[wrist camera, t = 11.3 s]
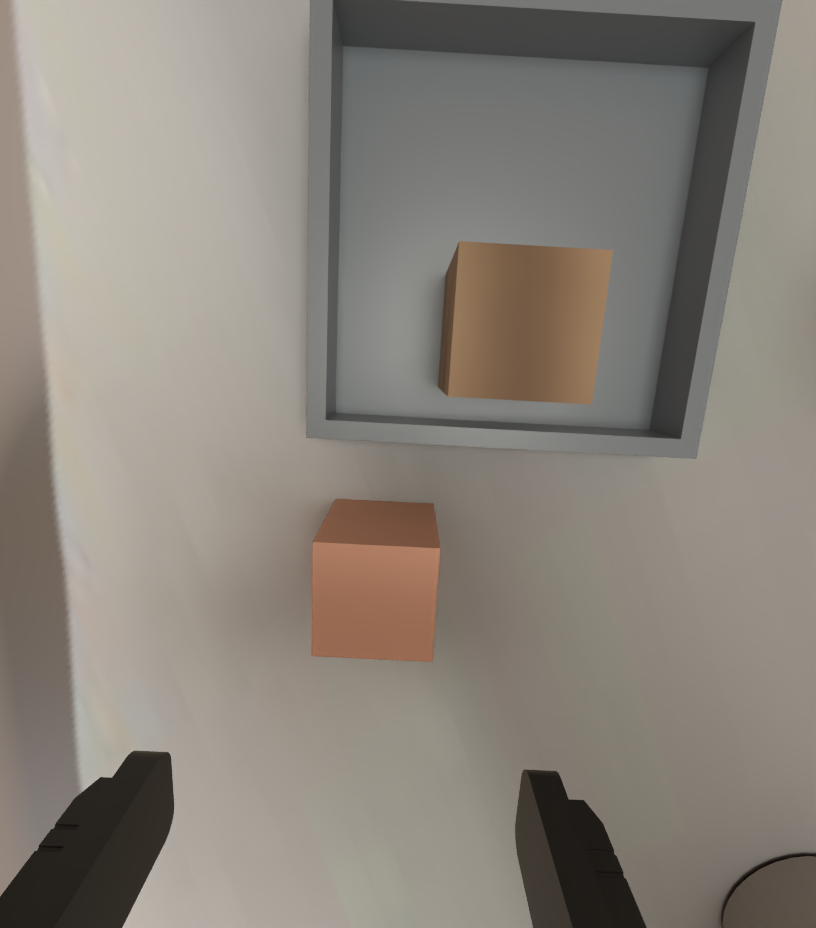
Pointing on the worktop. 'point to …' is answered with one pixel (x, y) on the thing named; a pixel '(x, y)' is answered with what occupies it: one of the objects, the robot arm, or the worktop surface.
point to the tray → (526, 201)
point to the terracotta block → (375, 581)
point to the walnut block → (523, 322)
